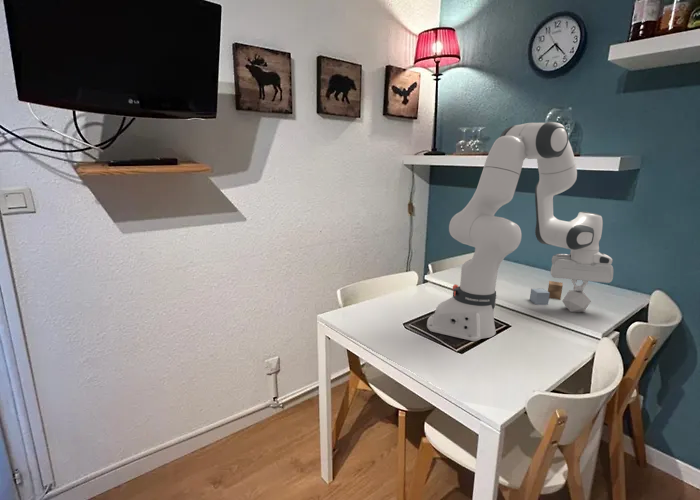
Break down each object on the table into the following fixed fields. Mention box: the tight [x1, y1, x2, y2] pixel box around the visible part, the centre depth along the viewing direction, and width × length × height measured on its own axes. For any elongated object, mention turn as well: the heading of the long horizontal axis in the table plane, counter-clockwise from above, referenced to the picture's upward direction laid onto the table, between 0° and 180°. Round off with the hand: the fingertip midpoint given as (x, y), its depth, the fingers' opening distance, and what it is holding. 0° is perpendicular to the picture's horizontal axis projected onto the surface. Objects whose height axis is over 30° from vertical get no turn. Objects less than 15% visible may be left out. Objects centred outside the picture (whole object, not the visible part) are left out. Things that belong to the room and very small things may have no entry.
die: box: [561, 289, 592, 313], centre depth 149 cm, size 8×9×10 cm
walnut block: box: [547, 280, 564, 301], centre depth 164 cm, size 5×5×6 cm
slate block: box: [529, 288, 550, 305], centre depth 158 cm, size 5×5×5 cm
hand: (578, 290), depth 148 cm, fingers closed
